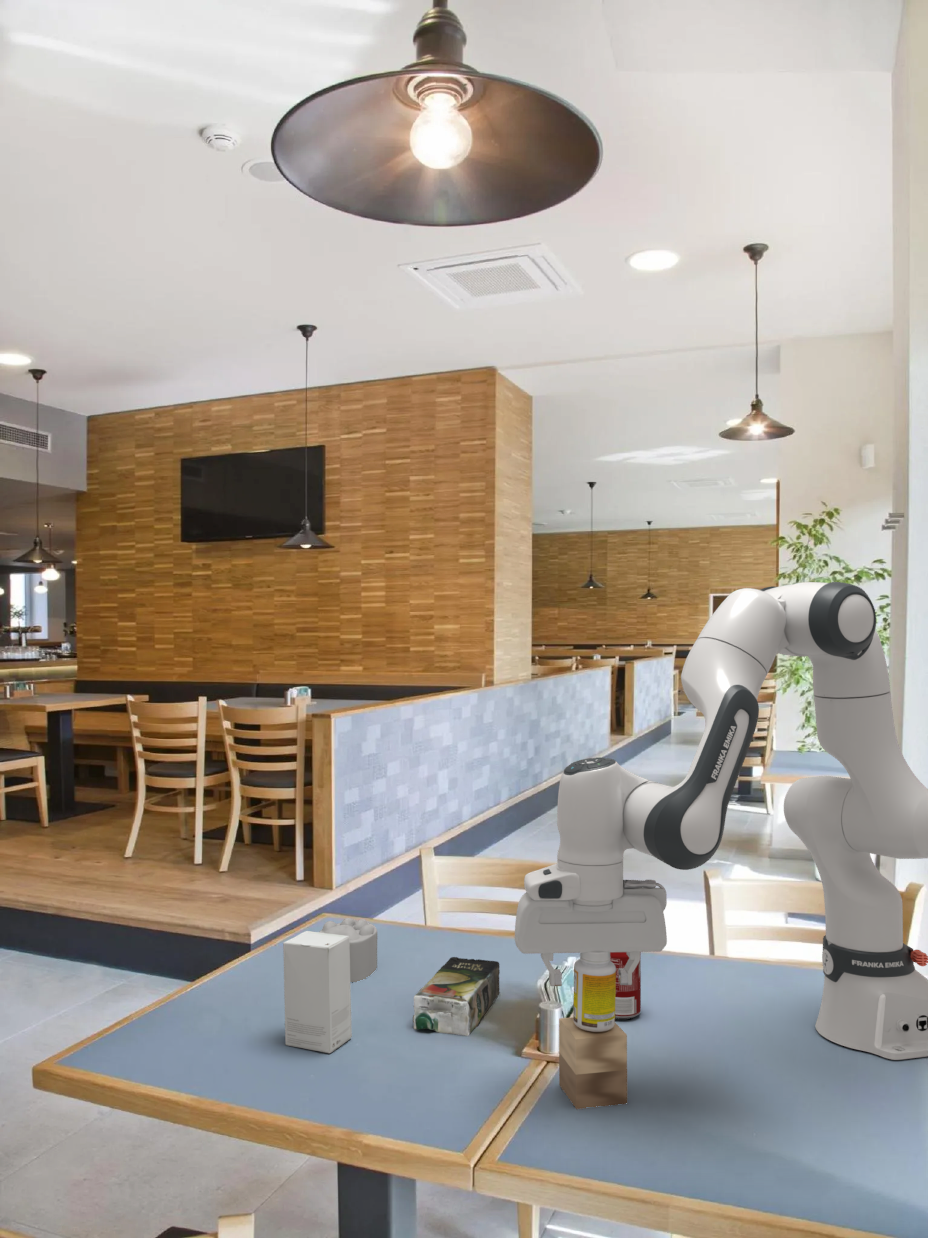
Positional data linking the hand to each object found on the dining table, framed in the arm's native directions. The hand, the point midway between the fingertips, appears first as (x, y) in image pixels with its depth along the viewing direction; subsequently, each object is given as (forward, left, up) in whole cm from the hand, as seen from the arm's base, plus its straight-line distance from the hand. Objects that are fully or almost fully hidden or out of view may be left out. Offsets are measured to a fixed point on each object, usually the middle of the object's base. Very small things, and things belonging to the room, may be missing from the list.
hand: (590, 984), depth 126 cm
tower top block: (0, 0, -10) cm, 10 cm away
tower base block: (0, 0, -14) cm, 14 cm away
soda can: (-10, -27, -14) cm, 32 cm away
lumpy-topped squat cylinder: (+36, -50, -15) cm, 63 cm away
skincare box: (+38, -18, -14) cm, 45 cm away
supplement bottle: (0, 0, -6) cm, 6 cm away
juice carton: (+16, -30, -15) cm, 37 cm away
